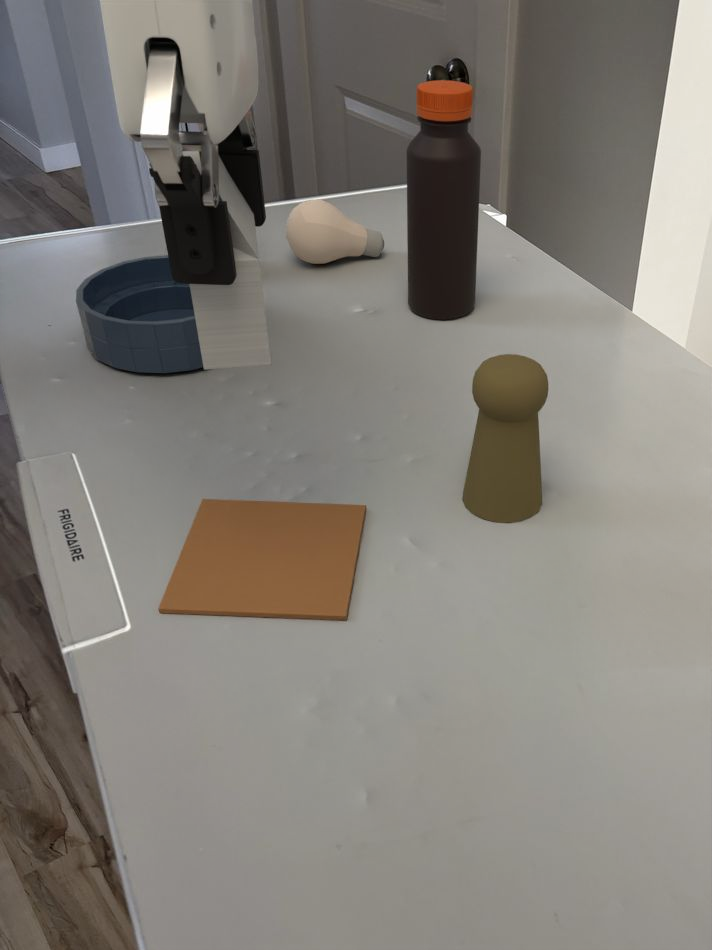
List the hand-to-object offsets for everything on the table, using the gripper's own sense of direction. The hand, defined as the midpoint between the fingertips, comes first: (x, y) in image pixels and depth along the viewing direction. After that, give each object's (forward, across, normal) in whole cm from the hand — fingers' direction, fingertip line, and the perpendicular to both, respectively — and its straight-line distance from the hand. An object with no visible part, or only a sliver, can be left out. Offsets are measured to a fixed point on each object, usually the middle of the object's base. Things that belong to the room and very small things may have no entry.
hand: (222, 249), depth 51 cm
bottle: (+21, -40, +11) cm, 46 cm away
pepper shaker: (+21, -7, +16) cm, 28 cm away
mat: (+21, +1, 0) cm, 21 cm away
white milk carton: (+5, 0, 0) cm, 5 cm away
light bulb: (+21, -51, -1) cm, 55 cm away
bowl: (+21, -31, -14) cm, 40 cm away
